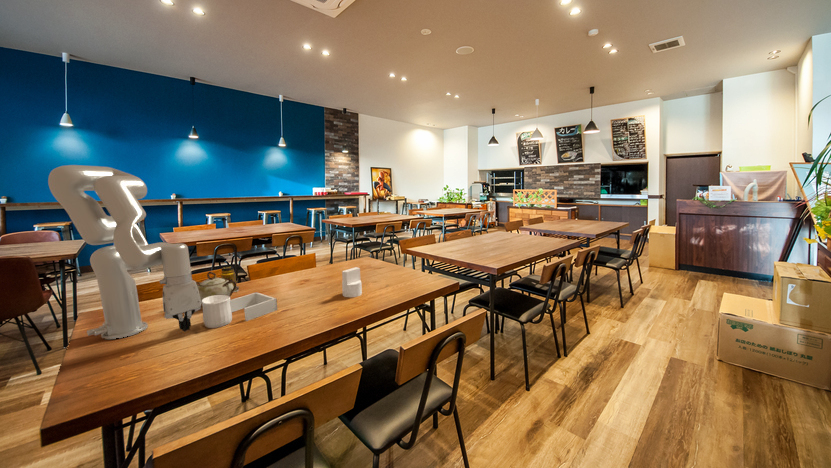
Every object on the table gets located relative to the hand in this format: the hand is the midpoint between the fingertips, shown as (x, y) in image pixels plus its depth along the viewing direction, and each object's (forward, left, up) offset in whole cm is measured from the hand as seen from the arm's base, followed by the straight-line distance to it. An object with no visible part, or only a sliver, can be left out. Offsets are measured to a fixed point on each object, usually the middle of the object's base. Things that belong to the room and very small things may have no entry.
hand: (185, 329), depth 114 cm
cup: (+11, 0, -2) cm, 11 cm away
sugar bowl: (+20, +22, -2) cm, 30 cm away
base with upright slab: (+62, -20, -2) cm, 65 cm away
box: (+24, 0, -2) cm, 24 cm away
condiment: (+33, +37, -2) cm, 49 cm away
